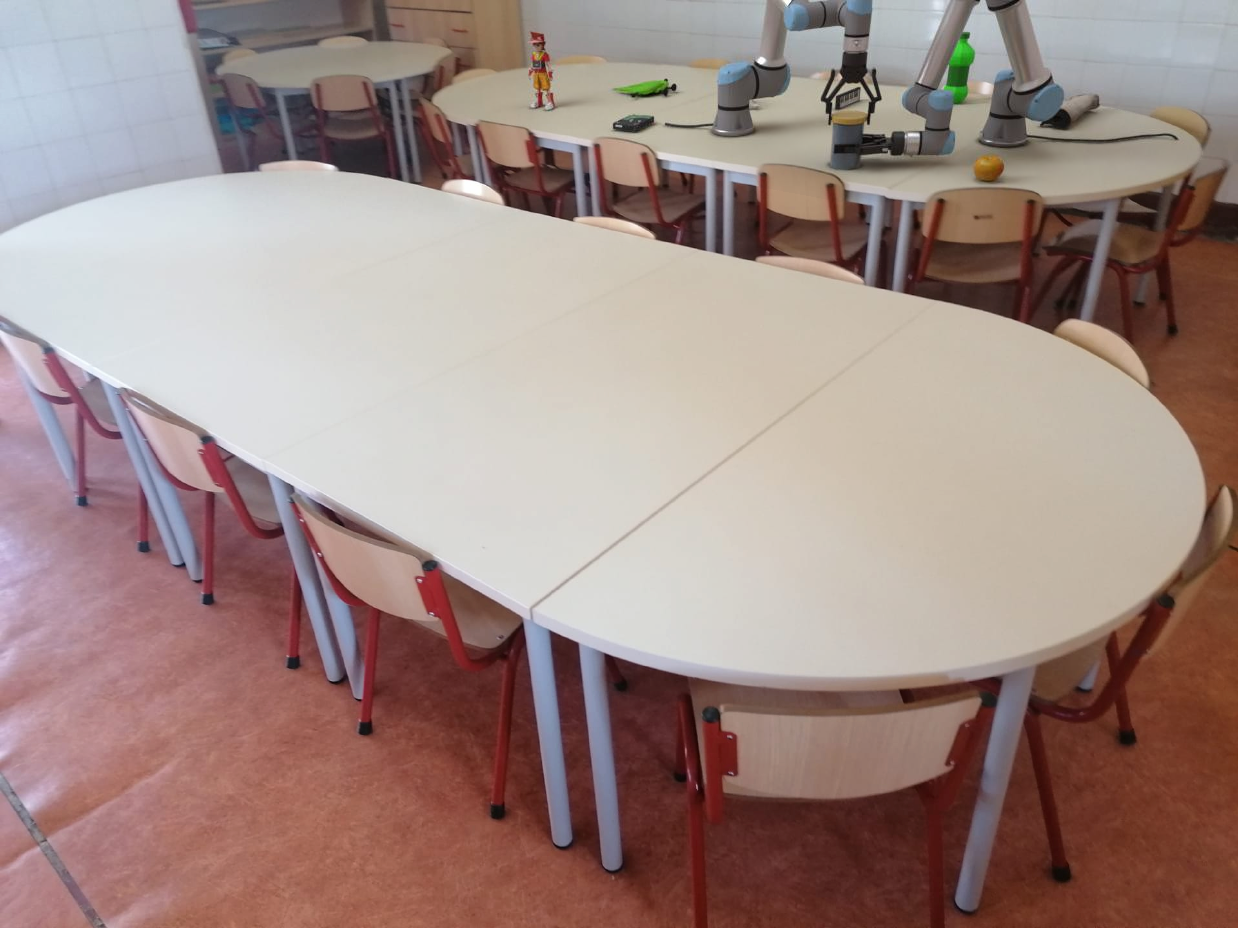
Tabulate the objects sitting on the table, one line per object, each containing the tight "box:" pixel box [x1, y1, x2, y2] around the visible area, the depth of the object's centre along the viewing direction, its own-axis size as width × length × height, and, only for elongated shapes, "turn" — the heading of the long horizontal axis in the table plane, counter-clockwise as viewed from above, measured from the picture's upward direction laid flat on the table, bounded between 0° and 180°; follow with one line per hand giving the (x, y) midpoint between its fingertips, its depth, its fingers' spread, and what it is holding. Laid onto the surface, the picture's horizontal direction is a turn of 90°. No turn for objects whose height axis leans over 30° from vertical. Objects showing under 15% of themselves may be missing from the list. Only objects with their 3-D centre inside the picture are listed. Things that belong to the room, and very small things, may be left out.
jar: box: [829, 122, 865, 170], centre depth 292 cm, size 10×10×15 cm
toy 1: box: [527, 31, 556, 111], centre depth 374 cm, size 12×9×30 cm
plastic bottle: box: [942, 31, 976, 104], centre depth 348 cm, size 10×10×25 cm
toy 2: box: [612, 78, 677, 99], centre depth 396 cm, size 28×5×30 cm
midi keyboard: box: [834, 86, 862, 110], centre depth 359 cm, size 18×1×5 cm, turn 138°
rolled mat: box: [1039, 93, 1101, 130], centre depth 325 cm, size 30×9×10 cm
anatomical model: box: [749, 99, 760, 109], centre depth 364 cm, size 15×10×10 cm
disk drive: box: [612, 114, 655, 133], centre depth 348 cm, size 10×3×15 cm
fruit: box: [973, 154, 1005, 182], centre depth 274 cm, size 8×8×8 cm
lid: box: [831, 109, 868, 125], centre depth 287 cm, size 11×11×2 cm
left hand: (848, 124), depth 289 cm, fingers open, 11 cm apart
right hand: (833, 144), depth 293 cm, fingers closed on jar, 10 cm apart
